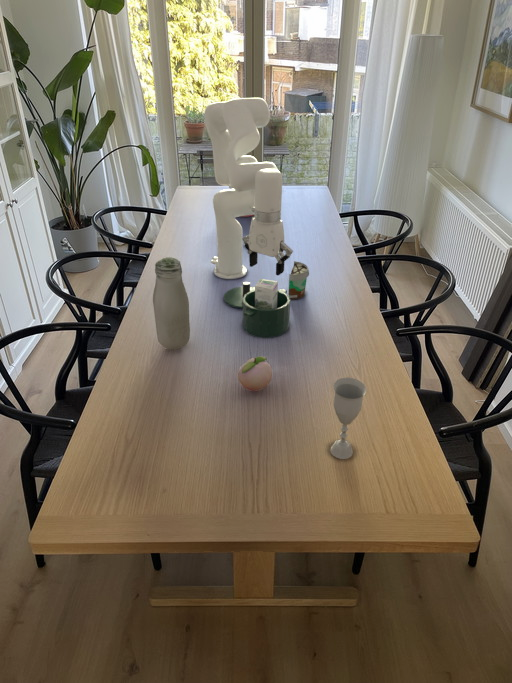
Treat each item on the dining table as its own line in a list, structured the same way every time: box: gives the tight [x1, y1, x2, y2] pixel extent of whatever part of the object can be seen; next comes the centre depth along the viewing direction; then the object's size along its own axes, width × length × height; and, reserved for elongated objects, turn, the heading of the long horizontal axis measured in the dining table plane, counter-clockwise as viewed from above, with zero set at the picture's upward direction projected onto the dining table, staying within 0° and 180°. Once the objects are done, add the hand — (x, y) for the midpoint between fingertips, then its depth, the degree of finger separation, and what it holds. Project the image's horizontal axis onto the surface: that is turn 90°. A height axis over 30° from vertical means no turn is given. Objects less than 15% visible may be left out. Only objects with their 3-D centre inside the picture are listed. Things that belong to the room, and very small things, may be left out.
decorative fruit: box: [237, 355, 273, 392], centre depth 134 cm, size 9×8×10 cm
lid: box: [223, 281, 255, 309], centre depth 178 cm, size 16×16×6 cm
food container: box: [288, 260, 310, 301], centre depth 181 cm, size 12×6×10 cm, turn 168°
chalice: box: [330, 377, 367, 460], centre depth 112 cm, size 7×7×18 cm
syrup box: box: [254, 278, 279, 310], centre depth 160 cm, size 6×6×14 cm
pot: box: [242, 288, 291, 339], centre depth 162 cm, size 15×20×10 cm
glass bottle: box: [152, 256, 191, 351], centre depth 147 cm, size 10×10×28 cm
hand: (266, 269), depth 156 cm, fingers open, 9 cm apart
